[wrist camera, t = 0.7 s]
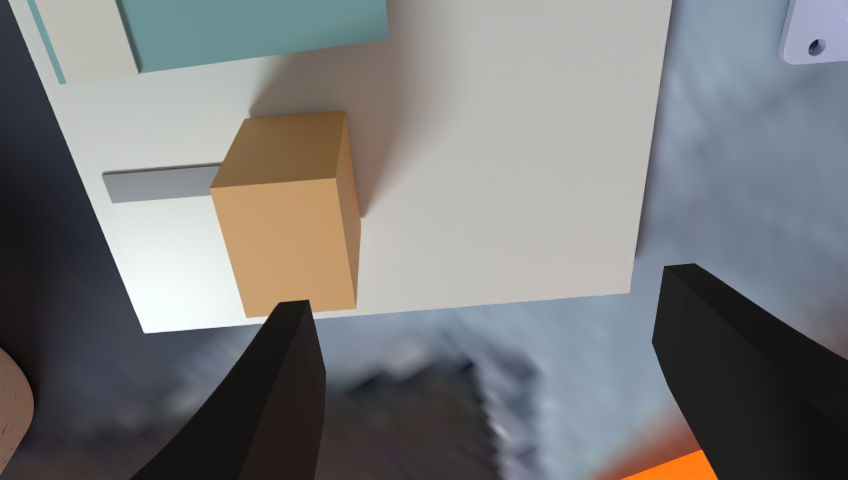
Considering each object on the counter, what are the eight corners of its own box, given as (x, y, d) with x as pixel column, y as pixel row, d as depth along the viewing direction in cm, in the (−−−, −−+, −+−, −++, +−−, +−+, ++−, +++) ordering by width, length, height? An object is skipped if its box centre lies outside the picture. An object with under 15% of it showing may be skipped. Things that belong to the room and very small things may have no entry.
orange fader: (345, 110, 18) (335, 177, 15) (361, 224, 21) (356, 308, 17) (244, 118, 18) (209, 188, 15) (271, 232, 21) (246, 318, 17)
